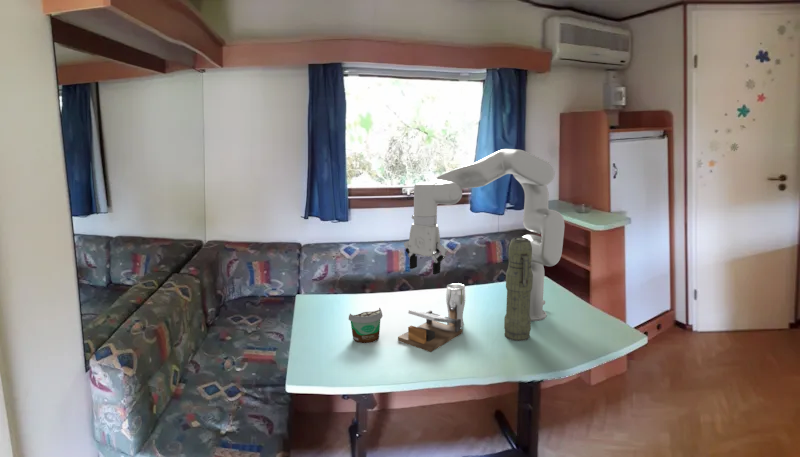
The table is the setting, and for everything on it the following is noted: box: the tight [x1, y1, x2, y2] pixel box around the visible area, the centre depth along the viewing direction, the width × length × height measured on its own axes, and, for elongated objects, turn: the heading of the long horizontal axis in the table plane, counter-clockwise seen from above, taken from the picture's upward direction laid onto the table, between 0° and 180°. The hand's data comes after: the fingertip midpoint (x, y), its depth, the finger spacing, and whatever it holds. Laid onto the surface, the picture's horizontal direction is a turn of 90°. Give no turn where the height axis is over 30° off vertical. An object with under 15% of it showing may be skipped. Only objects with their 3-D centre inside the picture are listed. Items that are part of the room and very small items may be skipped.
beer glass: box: [445, 283, 466, 328], centre depth 185 cm, size 7×7×15 cm
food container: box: [348, 307, 384, 344], centre depth 173 cm, size 12×6×10 cm, turn 117°
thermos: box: [503, 236, 533, 342], centre depth 173 cm, size 9×12×35 cm
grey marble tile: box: [407, 310, 456, 324], centre depth 176 cm, size 15×11×2 cm
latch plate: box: [397, 310, 464, 353], centre depth 176 cm, size 19×14×6 cm
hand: (424, 270), depth 168 cm, fingers open, 9 cm apart
